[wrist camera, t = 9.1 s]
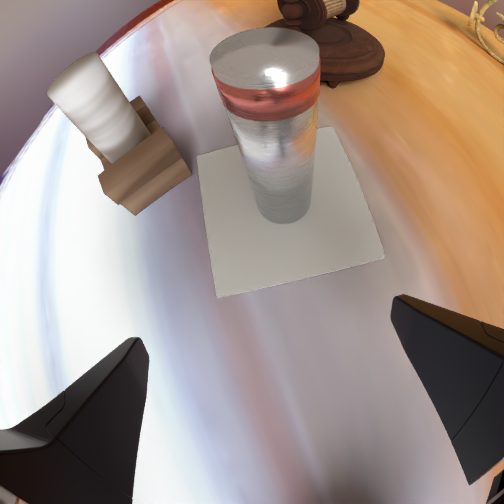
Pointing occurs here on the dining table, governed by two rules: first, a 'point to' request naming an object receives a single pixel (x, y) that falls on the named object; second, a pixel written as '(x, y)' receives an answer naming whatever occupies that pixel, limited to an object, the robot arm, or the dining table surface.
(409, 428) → the dining table surface
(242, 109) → the silver cylinder copper band
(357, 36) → the beaded wooden stand
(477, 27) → the wall sconce
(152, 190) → the white candle wooden holder
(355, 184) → the grey mat
